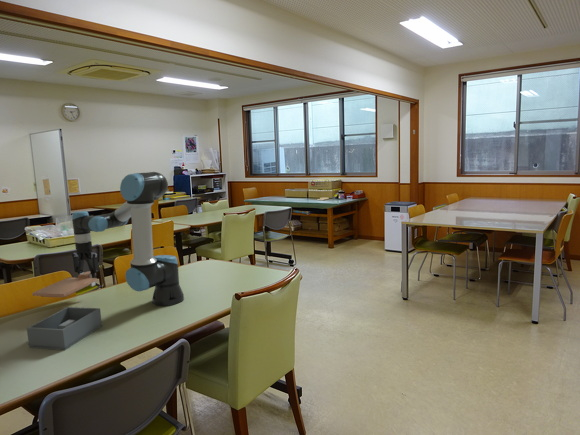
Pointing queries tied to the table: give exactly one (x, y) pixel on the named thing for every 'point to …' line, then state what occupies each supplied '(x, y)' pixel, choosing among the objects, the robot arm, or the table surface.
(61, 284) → the lid
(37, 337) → the tub
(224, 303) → the table surface
